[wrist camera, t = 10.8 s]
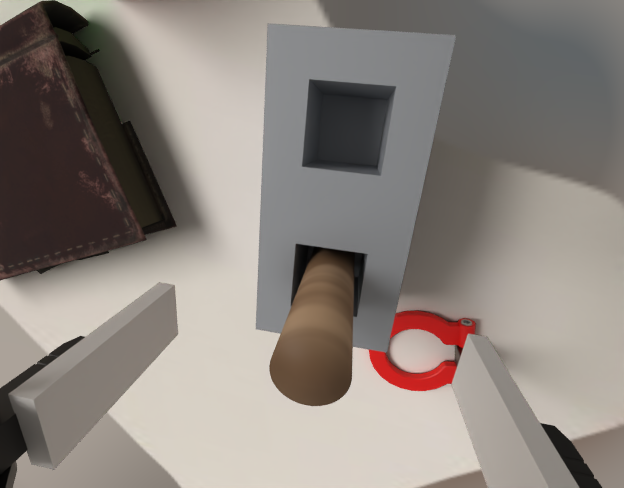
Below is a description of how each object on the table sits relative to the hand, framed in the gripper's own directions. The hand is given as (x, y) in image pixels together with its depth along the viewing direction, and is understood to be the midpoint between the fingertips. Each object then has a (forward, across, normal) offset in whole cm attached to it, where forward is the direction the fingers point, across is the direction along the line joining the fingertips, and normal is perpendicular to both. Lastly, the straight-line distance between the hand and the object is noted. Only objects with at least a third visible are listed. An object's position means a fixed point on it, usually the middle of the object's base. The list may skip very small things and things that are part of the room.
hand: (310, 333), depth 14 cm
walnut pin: (+12, 0, 0) cm, 12 cm away
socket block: (+14, 0, +4) cm, 14 cm away
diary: (+15, -30, +2) cm, 33 cm away
